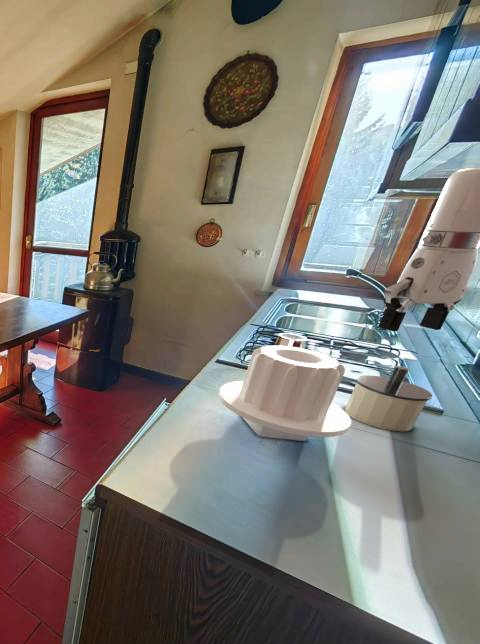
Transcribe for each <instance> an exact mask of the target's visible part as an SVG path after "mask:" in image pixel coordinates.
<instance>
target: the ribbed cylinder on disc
mask: <svg viewBox="0 0 480 644" xmlns="http://www.w3.org/2000/svg"><path fill="white" fill-rule="evenodd" d="M345 373H346V368H345V365H343V364H341V363H340V361H339V359H338V358H336V357H335V358H333V357H332V356H329V355H327V354H324V353H323V352H322V351H321V352H319V351H315V350H312V349H311V350H310V349H307V348H305V349H302V348H297V347H290V346H282V345H279V346H274V345H268V344H265V345H262V346H261V347H258V348H255V349H254V350H253V351H252V354H251V357H250V360H249V363H248V366H247V370H246V372H245V376H244V377H243V378H244V379H243V380H235V381H231V382H230V381H229V382H227V383H223V384H222V386H221V387H220V388H219V391H218V394H217V395H218V396H217V397H218V399H219V401H220V403H221V404H222V405H223V406H225V408H227V409H228V410H229V411H231V412H232V413H233V414H236V415H238V416H239V417H241V418H242V419H243V420H244V421H245V422H246V423H247V424H248V426H249V427H250V428H251V429H252V430H253V431H254V432H255V434H256V435H257V436H259V437H261V438H271V439H281V440H290V441H298V442H299V441H300V442H305V441H307V438H308V437H313V438H333V437H339V436H342V435H344V434H347V432H349V430H350V427H351V425H352V419H351V416H350V415H348V414H347V413H346V411H345V410H344V409H342V408H341V407H339V406H338V405H336V404H335V403H333V400H334V398H335V396H336V394H337V392H338V389H339V386H340V384H341V382H342V380H343V377H344V375H345Z"/></svg>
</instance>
